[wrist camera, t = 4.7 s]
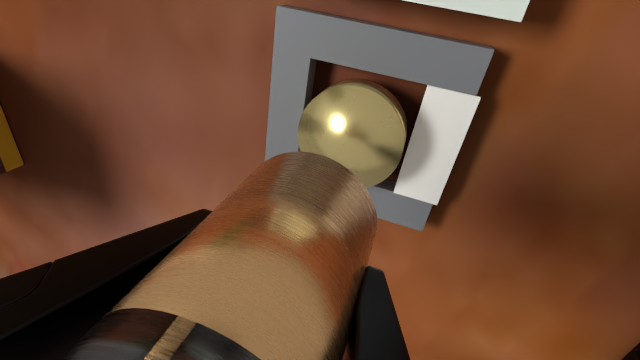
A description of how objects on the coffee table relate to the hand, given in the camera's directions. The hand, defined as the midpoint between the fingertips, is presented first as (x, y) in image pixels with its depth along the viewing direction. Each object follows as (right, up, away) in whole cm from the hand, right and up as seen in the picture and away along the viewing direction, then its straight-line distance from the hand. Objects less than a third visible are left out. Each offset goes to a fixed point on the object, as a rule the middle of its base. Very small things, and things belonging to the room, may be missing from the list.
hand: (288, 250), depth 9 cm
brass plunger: (+3, +4, +9) cm, 10 cm away
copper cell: (+1, +1, +1) cm, 2 cm away
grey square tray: (+3, +5, +10) cm, 12 cm away
